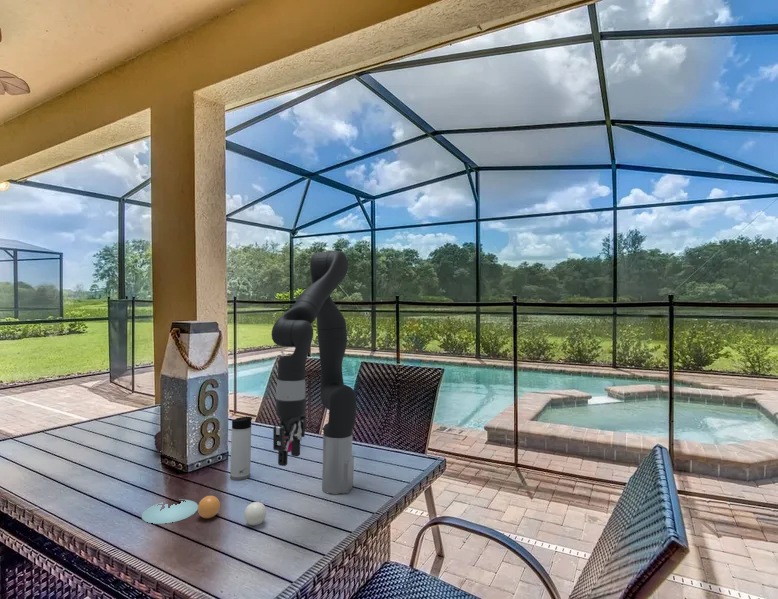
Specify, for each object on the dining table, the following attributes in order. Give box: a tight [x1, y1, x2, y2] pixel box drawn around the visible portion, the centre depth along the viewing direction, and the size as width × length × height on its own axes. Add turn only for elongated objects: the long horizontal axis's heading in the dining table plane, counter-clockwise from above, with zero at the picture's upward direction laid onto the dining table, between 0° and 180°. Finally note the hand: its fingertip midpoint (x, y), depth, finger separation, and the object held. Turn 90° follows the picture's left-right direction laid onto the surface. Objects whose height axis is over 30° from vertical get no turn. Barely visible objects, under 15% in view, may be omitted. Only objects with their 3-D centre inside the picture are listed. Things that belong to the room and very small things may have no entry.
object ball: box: [197, 495, 221, 519], centre depth 119 cm, size 6×6×6 cm
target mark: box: [141, 499, 198, 525], centre depth 122 cm, size 14×14×1 cm
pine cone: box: [153, 430, 162, 454], centre depth 168 cm, size 18×10×10 cm, turn 52°
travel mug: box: [229, 416, 253, 481], centre depth 147 cm, size 6×7×20 cm
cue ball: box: [243, 501, 267, 526], centre depth 116 cm, size 6×6×6 cm
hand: (289, 460), depth 114 cm, fingers open, 7 cm apart
